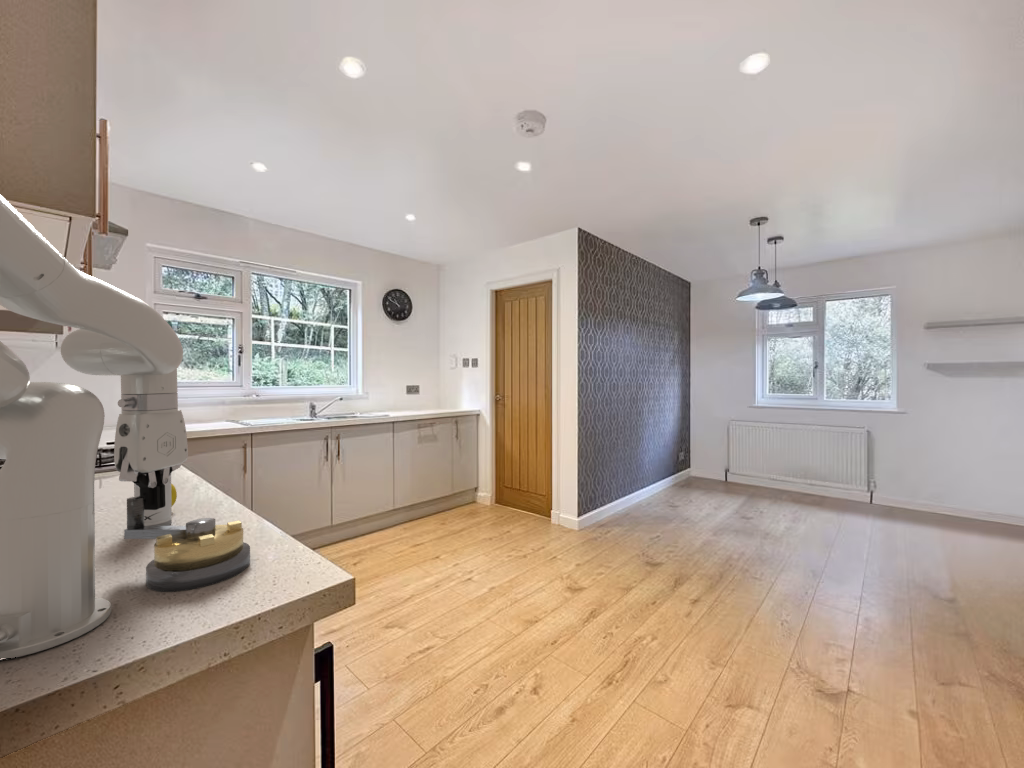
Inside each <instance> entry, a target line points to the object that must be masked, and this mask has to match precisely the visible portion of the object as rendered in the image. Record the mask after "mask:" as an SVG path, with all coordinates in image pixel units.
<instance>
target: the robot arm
mask: <svg viewBox="0 0 1024 768" xmlns="http://www.w3.org/2000/svg"><path fill="white" fill-rule="evenodd" d="M0 306H1V307H2V308H5V309H6V310H8V311H10V312H12V313H15V314H18V315H21V316H23V317H27V318H30V319H33V320H37V321H42V322H45V323H50V324H54V325H59V326H64V327H69V328H76V329H77V330H74V331H71V332H70V333H68V335H66V336H65V337H64V339H63V340H62V342H61V344H60V354H61V358H62V359H63V361H64V362H65V364H66V365H67V366H69V367H70V368H71V369H73V370H74V371H76V372H78V373H82V374H85V375H91V376H120V399H119V400H118V401H117V406H118V407H119V408H121V411H120V412H121V413H119V414H118V418H117V422H116V423H117V424H116V428H115V433H114V435H115V436H114V450H113V452H114V453H113V456H114V457H113V458H114V467H115V470H116V471H117V472H119V477H118V481H119V482H132V483H133V484H134V483H135V485H136V487H137V488H140V496H144V510H157V509H159V508H163V507H165V485H164V484H167V483H168V480H169V476H170V474H171V475H172V472H175V471H176V470H178V469H179V468H181V465H182V464H183V463H185V462H186V461H187V460H188V457H189V448H188V447H189V446H188V435H187V428H186V422H185V419H184V415H183V412H182V409H179V403H178V402H179V400H178V399H179V395H178V368H179V366H180V365H181V363H182V361H183V358H184V351H183V345H182V343H181V340H180V338H179V336H178V334H177V333H176V332H175V330H174V329H173V327H172V326H171V325H170V324H169V323H168V322H167V321H166V319H164V317H163V316H162V315H161V314H160V313H159V312H158V311H157V310H156V309H154V308H153V307H152V306H150V304H148V303H146V302H145V301H143V300H142V299H140V298H138V297H135V296H134V295H132V294H130V293H128V292H126V291H124V290H122V289H120V288H117V287H115V286H114V285H111V284H109V283H107V282H105V281H103V280H101V279H98V278H96V277H94V276H91V275H89V274H87V273H85V272H83V271H80V270H79V269H77V268H76V267H75V266H74V265H73V264H71V262H69V261H68V260H67V258H66V257H64V256H63V254H62V253H60V252H59V250H57V249H56V248H55V247H54V245H52V244H51V243H50V241H48V240H47V239H46V237H44V236H43V235H42V234H41V233H40V232H39V231H38V230H37V229H36V227H34V226H33V225H32V224H31V223H30V222H29V221H28V220H27V219H26V218H25V217H24V216H23V215H22V214H21V213H20V212H19V211H18V210H17V209H16V208H15V207H14V206H13V205H12V204H11V203H10V202H9V201H8V200H7V199H6V198H5V197H4V196H3V195H1V194H0ZM30 375H31V374H30V372H29V370H28V367H27V365H26V363H25V362H24V361H23V360H22V358H21V357H20V356H19V355H18V354H17V353H16V352H15V351H14V350H12V349H11V348H10V347H8V346H7V345H6V344H5V343H4V342H2V341H0V460H5V461H4V463H3V465H2V466H1V468H0V659H1V658H11V659H16V658H21V657H25V656H28V655H31V654H32V655H33V654H37V653H40V652H42V651H45V650H48V649H52V648H53V647H58V646H59V645H63V644H65V643H67V642H70V641H72V640H74V639H76V638H79V637H81V636H83V635H85V634H86V633H88V632H91V631H92V630H94V629H96V628H97V627H99V625H102V623H104V622H105V621H106V620H107V618H109V616H110V615H111V613H112V603H111V601H109V600H108V599H106V598H102V597H96V555H95V554H96V548H95V547H96V546H95V545H96V542H95V541H96V535H95V533H96V532H95V529H96V526H95V522H96V521H95V518H96V517H95V474H96V473H95V472H96V471H95V470H96V461H97V454H98V450H99V446H100V442H101V438H102V433H103V429H104V424H105V415H106V414H105V409H104V406H103V404H102V401H101V400H100V399H99V397H98V396H97V395H95V394H94V393H93V392H92V391H90V390H89V389H86V388H84V387H81V386H78V385H76V384H75V385H74V384H70V383H64V382H53V381H52V382H51V381H50V382H49V381H31V376H30ZM144 474H146V475H144ZM15 657H16V658H15Z"/></svg>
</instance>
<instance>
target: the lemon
mask: <svg viewBox="0 0 1024 768" xmlns="http://www.w3.org/2000/svg"><path fill="white" fill-rule="evenodd" d="M177 492H178V491H177V489H176V486H175V485H174V484H173V483H171V507H173V506H174V505H175V503H176V502H177V496H178V493H177Z"/></svg>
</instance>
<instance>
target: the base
mask: <svg viewBox="0 0 1024 768" xmlns="http://www.w3.org/2000/svg"><path fill="white" fill-rule="evenodd" d="M250 564H251V546H250V545H249V544H248V543H247V542H244V541H243V549H242V551H241V552H240V553H238V554H237V555H235V556H233V557H231V558H229V559H226V560H224V561H221V562H218V563H215V564H211V565H207V566H203V567H198V568H192V569H185V570H162V569H159V568H156V567H155V565H154V559H152V560H151V561H150V562H148V563H147V565H146V567H145V585H146V587H147V588H148V589H149V590H151V591H154V592H155V591H156V592H161V593H162V592H166V593H168V592H169V593H170V592H171V593H172V592H182V591H190V590H195V589H199V588H200V589H201V588H204V587H208V586H212V585H215V584H217V583H221V582H224V581H226V580H229V579H232V578H233V577H235V576H237V575H239V574H241V573H242V572H244V571H245V570H246V569H248V567H249V566H250Z"/></svg>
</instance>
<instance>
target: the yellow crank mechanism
mask: <svg viewBox="0 0 1024 768" xmlns="http://www.w3.org/2000/svg"><path fill="white" fill-rule="evenodd" d="M123 532H124V536H123V538H124V540H153V539H154V540H155V542H154V546H153V549H154V550H153V553H154V555H153V556H154V559H153V560H154V565H155V567H156V568H159V569H162V570H185V569H192V568H198V567H203V566H207V565H211V564H215V563H218V562H221V561H224V560H226V559H229V558H231V557H233V556H235V555H237V554H238V553H240V552H241V551H242V549H243V542H244V527H243V526H242V522H241V520H234V521H229V522H227V523H226V524H216V518H215V517H204V518H203V517H202V518H197V519H193V520H189V521H187V522H186V523H185V525H169V526H144V496H137V497H134V496H130V497H127V498H126V529H124V531H123Z"/></svg>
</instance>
